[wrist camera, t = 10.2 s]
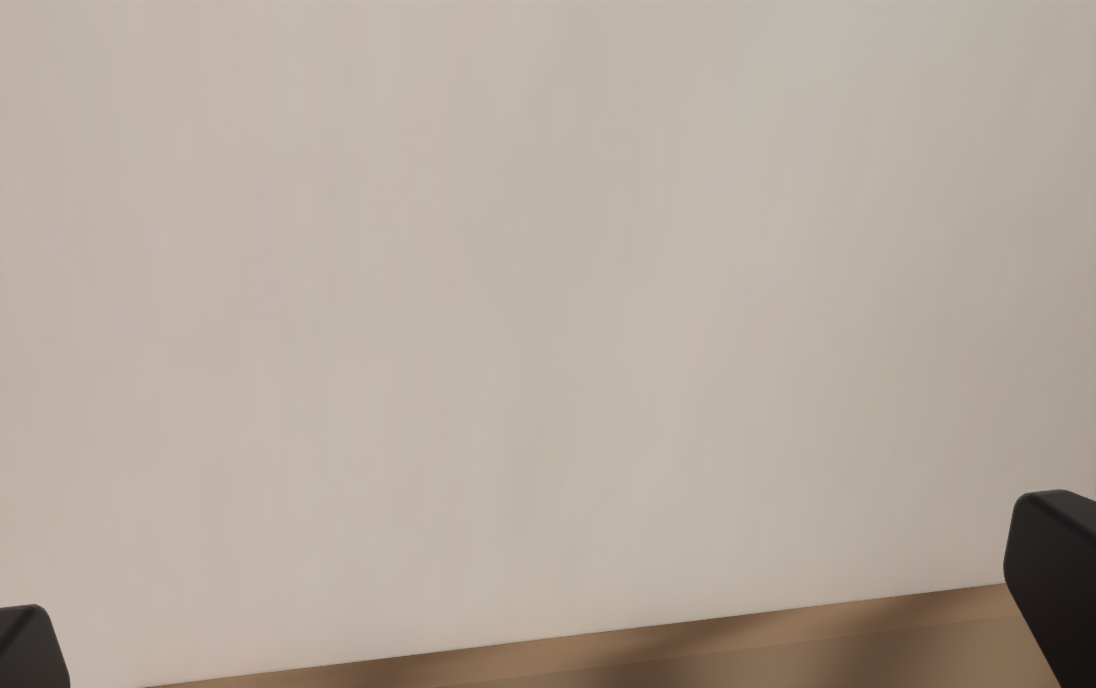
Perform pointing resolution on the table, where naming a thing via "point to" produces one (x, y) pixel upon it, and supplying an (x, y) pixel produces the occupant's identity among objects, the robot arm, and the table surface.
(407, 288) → the table surface
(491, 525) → the table surface
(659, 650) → the jack panel
